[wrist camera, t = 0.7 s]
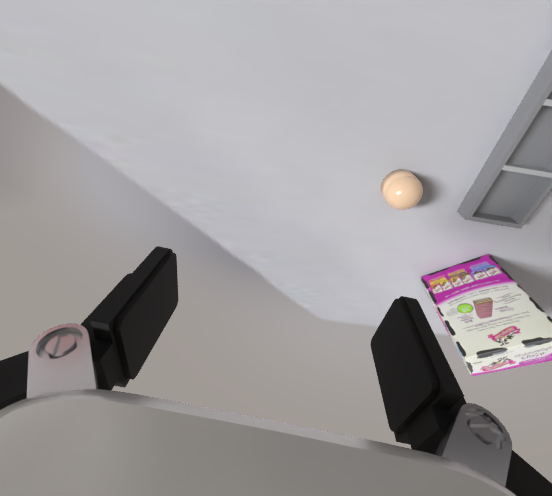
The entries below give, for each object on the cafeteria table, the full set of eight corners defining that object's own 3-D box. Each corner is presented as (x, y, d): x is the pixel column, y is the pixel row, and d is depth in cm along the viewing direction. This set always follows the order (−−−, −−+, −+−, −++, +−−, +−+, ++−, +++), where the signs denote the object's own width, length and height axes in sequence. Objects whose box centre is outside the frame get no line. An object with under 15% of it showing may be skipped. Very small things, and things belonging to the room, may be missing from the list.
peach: (387, 166, 38) (397, 179, 34) (421, 172, 38) (435, 185, 34) (376, 197, 40) (383, 212, 36) (407, 202, 40) (418, 218, 36)
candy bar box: (426, 294, 50) (470, 378, 37) (419, 276, 48) (462, 358, 35) (494, 273, 46) (572, 359, 33) (490, 252, 44) (570, 336, 30)
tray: (573, 13, 27) (596, 9, 25) (651, 25, 27) (680, 22, 25) (457, 211, 40) (465, 219, 38) (509, 219, 40) (520, 228, 38)
